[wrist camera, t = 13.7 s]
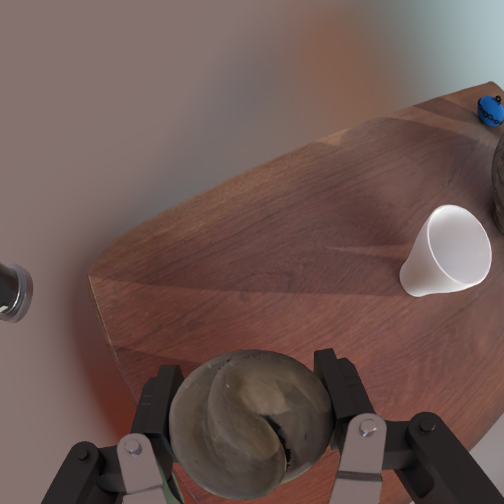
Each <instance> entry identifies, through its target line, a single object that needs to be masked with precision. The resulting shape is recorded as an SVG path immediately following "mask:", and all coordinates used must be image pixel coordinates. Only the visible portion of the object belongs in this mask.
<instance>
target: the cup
mask: <svg viewBox="0 0 504 504" xmlns="http://www.w3.org/2000/svg"><path fill="white" fill-rule="evenodd" d="M490 265H491V247H490V242H489V239H488V237H487V234H486V232H485V230H484V228H483V227H482V225H481V224H480V222H479V221H478V220H477V219H476V218H475V217H474V215H472V214H471V213H470V212H468V211H467V210H466V209H464V208H461V207H459V206H456V205H443V206H440V207H438V208H437V209H435V210H434V211H433V213H432V214H431V215H430V216H429V218H428V219H427V221H426V222H425V223H424V225H423V226H422V228H421V230H420V232H419V234H418V236H417V238H416V240H415V243H414V245H413V248H412V251H411V253H410V255H409V257H408V259H407V260H406V262H405V263H404V264H403V265H402V267H401V269H400V274H399V276H400V282H401V285H402V287H403V289H404V290H405V291H406V292H407V293H408V294H410V295H412V296H415V297H420V296H424V295H426V294H431V293H448V292H454V291H460V290H463V289H466V288H469V287H471V286H474V285H476V284H479V283H480V282H481V281H482V280H483V279H484V278H485V277H486V275H487V274H488V272H489V269H490Z"/></svg>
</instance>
